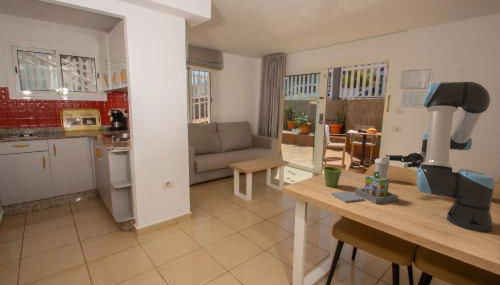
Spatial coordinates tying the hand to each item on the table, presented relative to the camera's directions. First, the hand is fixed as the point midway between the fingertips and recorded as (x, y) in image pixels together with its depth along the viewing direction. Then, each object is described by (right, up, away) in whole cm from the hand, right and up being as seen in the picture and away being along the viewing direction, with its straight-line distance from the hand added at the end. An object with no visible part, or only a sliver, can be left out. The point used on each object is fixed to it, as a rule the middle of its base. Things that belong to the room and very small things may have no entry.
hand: (391, 162), depth 135 cm
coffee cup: (+12, -15, +34) cm, 40 cm away
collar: (-9, -20, +1) cm, 22 cm away
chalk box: (-9, -20, +1) cm, 22 cm away
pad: (-25, -20, 0) cm, 32 cm away
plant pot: (-27, -17, +20) cm, 38 cm away
